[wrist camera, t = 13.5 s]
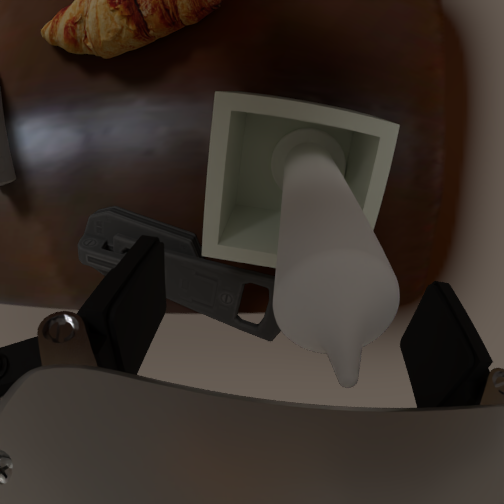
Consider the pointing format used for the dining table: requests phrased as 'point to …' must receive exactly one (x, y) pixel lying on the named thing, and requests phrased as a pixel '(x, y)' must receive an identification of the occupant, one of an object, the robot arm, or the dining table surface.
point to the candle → (327, 257)
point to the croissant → (121, 24)
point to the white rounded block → (5, 152)
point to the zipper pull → (178, 267)
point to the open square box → (260, 175)
